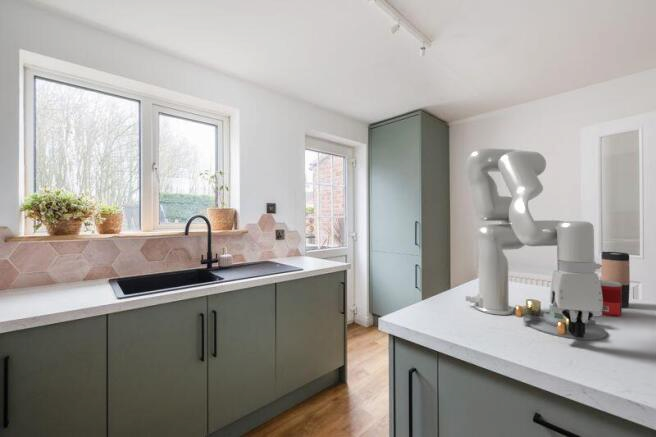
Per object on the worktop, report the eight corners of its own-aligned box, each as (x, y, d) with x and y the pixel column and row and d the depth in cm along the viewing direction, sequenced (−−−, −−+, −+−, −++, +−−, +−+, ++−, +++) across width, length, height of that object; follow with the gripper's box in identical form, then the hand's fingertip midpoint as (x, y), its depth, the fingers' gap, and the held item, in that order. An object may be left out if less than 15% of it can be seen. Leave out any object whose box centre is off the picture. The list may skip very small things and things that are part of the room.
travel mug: (595, 302, 113) (595, 251, 112) (615, 302, 112) (615, 251, 112) (614, 308, 105) (614, 254, 105) (635, 308, 105) (635, 254, 104)
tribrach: (533, 334, 84) (533, 308, 84) (516, 312, 102) (516, 291, 102) (622, 344, 76) (622, 316, 76) (586, 318, 95) (586, 296, 95)
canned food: (628, 317, 96) (628, 285, 96) (600, 316, 97) (600, 284, 97) (610, 310, 103) (610, 280, 103) (585, 309, 105) (585, 279, 105)
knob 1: (529, 310, 98) (529, 298, 98) (543, 313, 94) (543, 301, 94) (511, 316, 92) (510, 304, 92) (524, 320, 89) (524, 307, 89)
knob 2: (565, 324, 85) (565, 310, 85) (583, 328, 82) (583, 314, 82) (551, 333, 79) (551, 319, 79) (569, 338, 75) (569, 323, 75)
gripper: (601, 265, 78) (602, 333, 77) (537, 264, 82) (538, 327, 82) (620, 270, 70) (621, 344, 70) (548, 268, 75) (550, 338, 75)
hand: (576, 335), depth 76 cm, fingers closed
